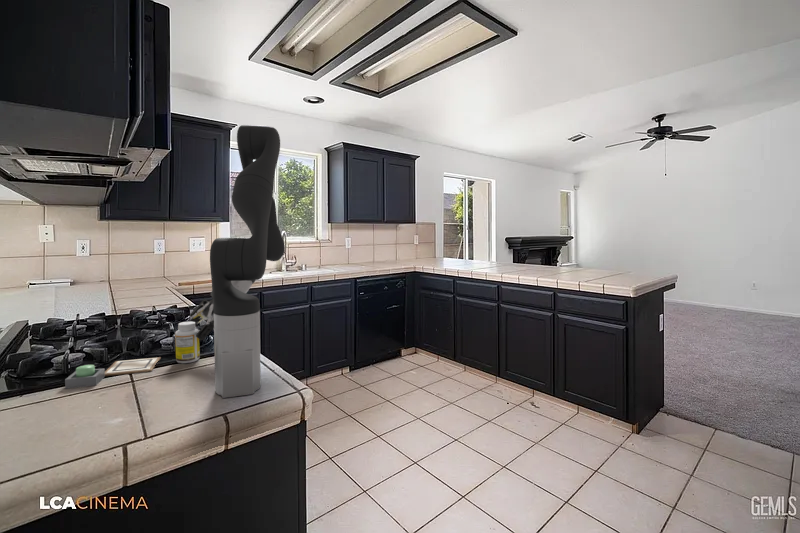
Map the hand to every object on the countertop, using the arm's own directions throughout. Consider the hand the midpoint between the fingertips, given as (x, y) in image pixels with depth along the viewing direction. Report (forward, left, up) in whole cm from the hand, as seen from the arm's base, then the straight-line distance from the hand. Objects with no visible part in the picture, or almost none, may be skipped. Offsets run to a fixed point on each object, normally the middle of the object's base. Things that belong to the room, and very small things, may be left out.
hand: (191, 335), depth 99 cm
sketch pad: (-2, +13, -7) cm, 15 cm away
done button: (-10, +20, -5) cm, 23 cm away
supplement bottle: (-1, +1, -7) cm, 7 cm away
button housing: (-10, +20, -7) cm, 23 cm away
